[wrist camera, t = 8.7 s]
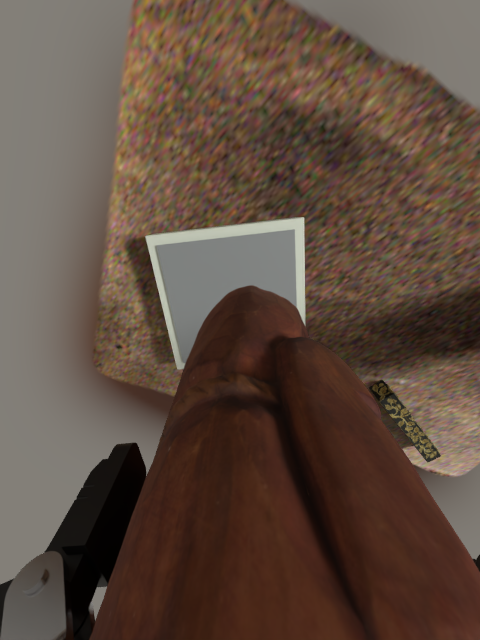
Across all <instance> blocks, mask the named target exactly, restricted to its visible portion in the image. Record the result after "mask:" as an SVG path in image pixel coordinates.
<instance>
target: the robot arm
mask: <svg viewBox="0 0 480 640" xmlns="http://www.w3.org/2000/svg"><path fill="white" fill-rule="evenodd" d="M145 479H146V467H145V464H144V461H143V459H142V456H141V453H140V450H139V447H138V445H137V443H126V444H117V445H116V446H115V447H114V448H113V450H112V452H111V454H110V456H109V458H108V459H103V460H102V461H101V462H100V463H99V464H98V465H97V466H96V467H95V468H94V469H93V470H92V471H91V473H90V475H89V476H88V478H87V480H86V481H85V483H84V486H83V488H81V490H80V492H79V494H78V496H77V499H76V500H75V501H74V503H73V504H72V506H71V508H70V510H69V511H68V513H67V515H66V517H65V519H64V520H63V522H62V524H61V525H60V527H59V529H58V531H57V532H56V534H55V536H54V538H53V539H52V541H51V543H50V545H49V546H48V548H47V550H46V551H45V552H44V553H43V554H40V555H39V556H37V557H35V558H34V559H33V560H31V561H30V562H29V563H28V564H26V565H25V566H24V567H23V568H22V569H21V571H20V572H19V573H18V574H17V576H16V577H15V578H14V579H12V580H10V581H8V582H5V583H3V584H1V585H0V640H89V639H90V636H91V634H92V631H93V628H94V626H95V618H94V610H93V604H92V598H93V596H94V593H95V590H96V588H97V587H106V586H108V583H109V580H110V577H111V574H112V572H113V569H114V567H115V564H116V561H117V558H118V555H119V552H120V549H121V546H122V544H123V541H124V538H125V535H126V532H127V529H128V526H129V523H130V520H131V517H132V514H133V511H134V509H135V506H136V504H137V501H138V498H139V496H140V493H141V490H142V487H143V484H144V481H145ZM473 561H474V563H475V565H476V566H477V568H478V570H479V572H480V555H479V556H478V558H477V560H475V559H473Z"/></svg>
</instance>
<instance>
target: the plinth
mask: <svg viewBox="0 0 480 640" xmlns="http://www.w3.org/2000/svg"><path fill="white" fill-rule="evenodd" d="M145 237H146V241H147V245H148V249H149V253H150V258H151V262H152V266H153V270H154V274H155V278H156V283H157V287H158V291H159V295H160V299H161V303H162V308H163V312H164V316H165V320H166V324H167V328H168V333H169V337H170V341H171V345H172V349H173V353H174V358H175V362H176V366H177V370H178V369H184V366H185V363H186V361H187V358H188V356H189V354H190V352H191V349H192V347H193V345H194V342H195V340H196V337H197V334H198V332H199V329H200V328H201V326H202V324H203V322H204V320H205V319H206V317H207V316H208V314H209V313H210V311H211V310H212V309H213V308H214V307H215V306H216V305H217V304H218V303H219V302H220V301H221V299H222V298H223V297H224V296H225V295H226V294H228V293H229V292H231V291H233V290H235V289H238V288H241V287H245V286H249V285H253V286H256V287H258V288H260V289H263V290H266V291H271V292H273V293H275V294H277V295H279V296H281V297H284V298H286V299H287V300H289V301H290V302H291V303H292V304H293V305H294V306H296V307H297V309H298V311H299V313H300V316H301V318H302V320H303V323H304V325H305V256H304V217H294V218H286V219H277V220H268V221H260V222H251V223H243V224H234V225H226V226H217V227H209V228H200V229H192V230H183V231H175V232H166V233H158V234H152V235H148V236H145Z"/></svg>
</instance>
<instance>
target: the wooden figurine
mask: <svg viewBox="0 0 480 640" xmlns="http://www.w3.org/2000/svg"><path fill="white" fill-rule="evenodd" d="M89 640H480V572H479V570H478V568H477V566H476V565H475V563H474V561H473V559H472V558H471V556H470V554H469V553H468V551H467V549H466V548H465V546H464V545H463V543H462V542H461V540H460V539H459V537H458V536H457V534H456V533H455V531H454V529H453V528H452V526H451V525H450V523H449V522H448V520H447V519H446V517H445V516H444V514H443V513H442V511H441V510H440V508H439V507H438V505H437V503H436V502H435V500H434V499H433V497H432V496H431V494H430V493H429V491H428V489H427V488H426V486H425V484H424V483H423V481H422V480H421V478H420V477H419V474H418V473H417V471H416V469H415V468H414V466H413V465H412V463H411V462H410V460H409V459H408V457H407V456H406V454H405V453H404V451H403V450H402V448H401V447H400V446H399V444H398V443H397V441H396V440H395V439H394V437H393V436H392V434H391V433H390V432H389V430H388V429H387V428H386V426H385V425H384V423H383V422H382V421H381V411H380V408H379V406H378V404H377V402H376V401H375V399H374V397H373V396H372V394H371V393H370V391H369V390H368V389H367V388H366V386H365V385H364V384H363V383H362V381H361V380H360V379H359V378H358V376H357V375H356V374H355V373H354V372H353V370H352V369H351V368H350V367H349V366H348V365H347V364H346V363H345V362H344V361H343V360H342V359H341V358H340V357H339V356H338V355H337V354H336V353H334V352H333V351H331V350H330V349H328V348H327V347H326V346H324V345H323V344H321V343H320V342H317V341H315V340H312V339H310V338H309V335H308V331H307V329H306V327H305V325H304V323H303V320H302V318H301V316H300V313H299V311H298V309H297V307H296V306H294V305H293V304H292V303H291V302H290V301H289V300H287V299H286V298H284V297H281V296H279V295H277V294H275V293H273V292H271V291H266V290H263V289H260V288H258V287H256V286H253V285H249V286H245V287H241V288H238V289H235V290H233V291H231V292H229V293H228V294H226V295H225V296H224V297H223V298H222V299H221V301H220V302H219V303H218V304H217V305H216V306H215V307H214V308H213V309H212V310H211V311H210V313H209V314H208V316H207V317H206V319H205V320H204V322H203V324H202V326H201V328H200V329H199V332H198V334H197V337H196V340H195V342H194V345H193V347H192V349H191V352H190V354H189V356H188V358H187V361H186V363H185V366H184V369H183V373H182V377H181V380H180V383H179V386H178V389H177V392H176V395H175V397H174V400H173V403H172V406H171V409H170V412H169V415H168V418H167V420H166V423H165V426H164V430H163V433H162V436H161V438H160V442H159V445H158V448H157V451H156V455H155V457H154V460H153V463H152V465H151V467H150V470H149V472H148V474H147V476H146V479H145V481H144V484H143V487H142V490H141V493H140V496H139V498H138V501H137V504H136V506H135V509H134V511H133V514H132V517H131V520H130V523H129V526H128V529H127V532H126V535H125V538H124V541H123V544H122V546H121V549H120V552H119V555H118V558H117V561H116V564H115V567H114V569H113V572H112V574H111V577H110V580H109V583H108V586H107V589H106V593H105V596H104V599H103V602H102V604H101V607H100V610H99V612H98V615H97V618H96V621H95V626H94V628H93V631H92V634H91V636H90V639H89Z"/></svg>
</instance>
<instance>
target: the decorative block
mask: <svg viewBox="0 0 480 640" xmlns="http://www.w3.org/2000/svg"><path fill="white" fill-rule="evenodd" d="M369 389H370V390H371V392H372V393H373V394H374V396H375V397H376V398H377V400H378V401H379V402H380V404H381V405H382V406H383V407H384V409H385V410H386V411H387V412H388V414H389V415H390V416H391V417H392V419H393V420H394V421H395V422H396V423H397V425H398V426H399V427H400V428H401V430H402V431H403V432H404V433H405V435H406V436H407V437H408V439H409V440H410V441H411V442H412V444H413V445H414V446H415V447H416V449H417V450H418V451H419V452H420V454H421V455H422V456H423V458H424V459H425V460H426V461H427V462H430V461H432V460H434V459H436V457H437V458H438V457H440V456H441V455H440V453H439V451H438V450H437V448H436V447H435V446H434V445H433V443H432V442H431V440H430V439H429V438H428V437H427V435H426V434H425V433H424V432H423V430H422V429H421V427H420V426H419V425H418V424H417V422H416V421H415V420H414V419H413V417H412V416H411V414H410V412H409V411H408V410H407V408H406V407H405V406H404V405H403V403H402V402H401V401H400V400H399V398H398V396H397V395H396V394H395V393H394V392H393V391H392V389H391V388H390V387H389V386H388V385H387V384H386V383H385V382H384V381H383V380H381V381H379V382H378V383H376V384H374V385H373V386H371V387H370V388H369Z"/></svg>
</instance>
